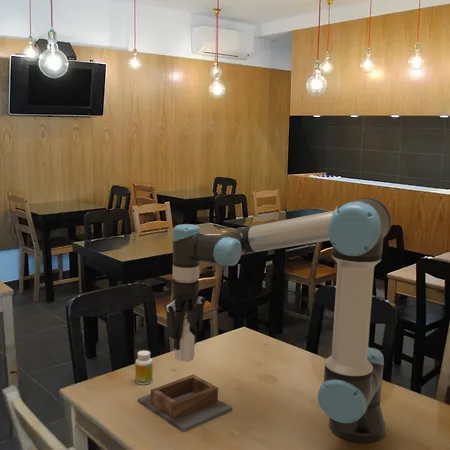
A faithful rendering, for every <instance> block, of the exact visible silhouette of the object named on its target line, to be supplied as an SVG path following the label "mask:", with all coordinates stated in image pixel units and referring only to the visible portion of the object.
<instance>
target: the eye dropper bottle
mask: <svg viewBox="0 0 450 450" xmlns="http://www.w3.org/2000/svg"><path fill="white" fill-rule="evenodd" d="M189 330H190V323H189V322H188V320H187V317H184V321H183V328H182V334H181V338H182V339H183V361H184V362H187V363H188V362H191V361H193V360H194V357H195V345H194V336H193V334H192V333H191V331H189ZM193 356H194V357H193ZM183 361H182V362H183Z"/></svg>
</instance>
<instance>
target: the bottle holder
mask: <svg viewBox="0 0 450 450" xmlns="http://www.w3.org/2000/svg"><path fill="white" fill-rule="evenodd" d="M137 402H138V403H139V404H141V405H142V406H144V407H145V408H146V409H148V410H149V411H151V412H152V413H154V414H155V415H157V416H158V417H160V418H162V419H163V420H164V421H166V422H167V423H169V424H170V425H171V426H173V427H174V428H176V429H178V430H179V431H181V432H182V433H185V432H188V431H189V430H192V429H194V428H196V427H198V426H201V425H203V424H206V423H207V422H210V421H212V420H214V419H216V418H219V417H222V416H224V415H226V414H229V413H230V412H232V411H233V407H232V406H230V405H229V404H226V402H223V401H222V400H220V399H219V386H216V385H214V384H212V383H210V382H209V381H207V380H205V379H203V378H201V377H199V376H197V375H195V374H194V373H193V374H190V375H188V376H185V377H182V378H179V379H177V380H173V381H172V382H169V383H166V384H163V385H160V386H157V387H154V388H152V389H150V393H149V394H147V395H144V396H140V397H139V398H137Z"/></svg>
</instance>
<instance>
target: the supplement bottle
mask: <svg viewBox="0 0 450 450" xmlns="http://www.w3.org/2000/svg"><path fill="white" fill-rule="evenodd" d="M135 382H136V384H138V385H149V384H151V383H152V382H153V359H152V358H151V351H150V350H139V351H138V352H137V358H136V359H135Z"/></svg>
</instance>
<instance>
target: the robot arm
mask: <svg viewBox="0 0 450 450" xmlns="http://www.w3.org/2000/svg"><path fill="white" fill-rule="evenodd" d="M391 227H392V215H391V213H390V210H389V208H388V206H386V205H385V204H384V203H383V202H382V201H381V200H379V199H377V198H374V197H362V198H358V199H357V200H354V201H350V202H347V203H345V204H342V205H337V206H336V208H335V209H334V210H330V211H324V212H321V213H314V214H309V215H304V216H303V215H302V216H299V217H295V218H290V219H289V218H288V219H283V220H278V221H273V222H267V223H263V224H262V223H261V224H258V225H257V224H256V225H253V226H249V227H248V226H247V227H246V226H245V227H237V228H235V229H234V230H233V229H232V230H231V231H227V232H224V233H221V234H218V235H212V234H211V235H210V234H204V233H202V232H201V228H200V226H199V225H197V224H189V223H184V224H177V225H175V226H174V228H173V233H172V279H173V280H172V287H171V288H172V290H171V291H172V293H173V297H172V298H171V299H172V300H171V302H170V303H169V304H164V306H163V307H164V310H165V312H166V329H167V332H166V333H167V337H168V338H170V339H172V340H173V349H174V351H175V352H174V353H175V354H174V358H175V359H176V360H178V361H180V362H183V339H182V338H181V334H182V328H183V322H184V318H185V317H186V319H187V322H189V323H190V330H189V331H191V333H192V334H193V336H194V346H195V345H197V344H196V343H197V336H199V335H200V332H201V331H202V330H203V324H204V323H203V321H204V306H205V304H206V301H207V299H206V298H205V297H202V296H200V295H199V292H200V280H199V279H200V263H201V262H203V263H208V264H214V265H219V266H225V267H226V266H231V267H234V266H235V265H237V264H238V262H239V261H240V259H241V256H244V255H248V254H254V253H258V252H263V251H264V252H265V251H270V250H277V249H282V248H288V247H295V246H301V245H310V244H314V243H315V244H316V243H319V242H327V241H330V243H331V257H332V259H334V261H335V262H336V263H337V268H336V280H335V281H336V284H335V286H336V287H335V297H334V298H335V301H334V313H333V315H334V316H333V328H332V329H333V331H332V343H331V344H332V346H331V355H330V356H328V357H327V358H326V359H325V362H324V374H323V381H322V382H323V383H321V385H320V387H319V389H318V393H317V401H318V402H317V403H318V405H319V407H320V409H321V410H322V411H323V412H324V413H325V415H326V416H327V417H329V418H328V427H329V429H330V431H331V432H332V433H333V434H335V435H336V436H338V437H340V438H341V439H344V440H346V441H349V442H354V443H362V444H364V443H367V444H368V443H373V442H378V441H379V440H381V439H382V438H383V437H384V436H385V433H386V422H385V419H384V415H383V410H382V407H381V399H382V385H383V373H384V365H385V362H384V361H385V360H384V355H383V353H382V352H381V351H380V350H378V349H375V348H373V347H369V340H370V326H371V325H370V324H371V313H372V311H371V310H372V300H373V299H372V298H373V288H374V287H373V286H374V285H373V284H374V272H375V267H376V265H377V264H379V263H380V262H381V261H382V255H383V245H384V238H385V237H386V236H387V235H388V233H389V232H390V229H391ZM194 357H195V355H194V356H193V358H194ZM380 438H381V439H380Z"/></svg>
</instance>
